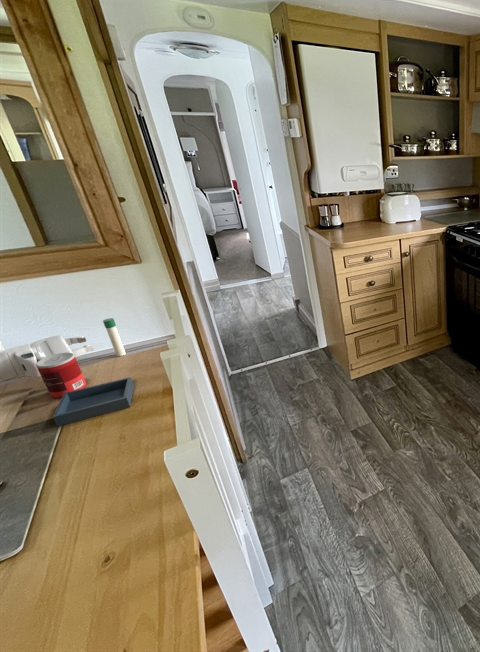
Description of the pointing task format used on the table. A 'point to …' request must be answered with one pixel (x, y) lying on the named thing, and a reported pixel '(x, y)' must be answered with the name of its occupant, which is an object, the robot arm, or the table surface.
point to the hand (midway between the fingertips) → (88, 342)
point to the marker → (114, 336)
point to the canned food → (61, 374)
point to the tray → (94, 401)
